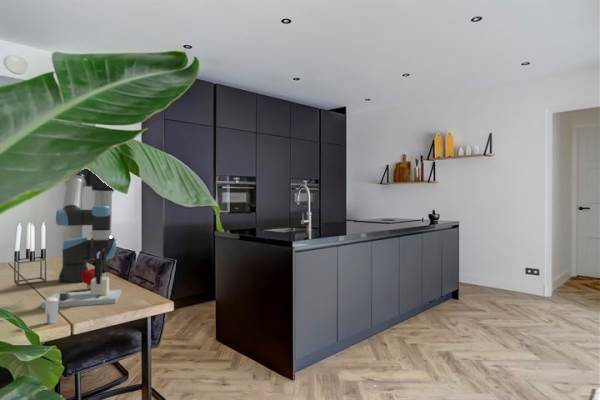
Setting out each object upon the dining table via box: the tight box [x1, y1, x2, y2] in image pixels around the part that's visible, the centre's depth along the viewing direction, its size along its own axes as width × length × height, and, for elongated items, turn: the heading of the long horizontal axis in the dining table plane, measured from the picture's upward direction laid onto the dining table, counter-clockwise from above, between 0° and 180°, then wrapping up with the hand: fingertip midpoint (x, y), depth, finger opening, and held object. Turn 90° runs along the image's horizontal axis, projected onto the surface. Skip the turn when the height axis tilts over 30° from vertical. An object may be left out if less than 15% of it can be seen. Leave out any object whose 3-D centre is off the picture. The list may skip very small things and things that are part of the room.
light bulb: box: [81, 268, 95, 291], centre depth 182 cm, size 9×7×10 cm
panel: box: [40, 288, 122, 309], centre depth 162 cm, size 17×28×2 cm, turn 109°
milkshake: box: [43, 296, 60, 325], centre depth 133 cm, size 4×5×10 cm
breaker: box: [59, 290, 69, 300], centre depth 156 cm, size 3×2×3 cm
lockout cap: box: [90, 276, 110, 296], centre depth 166 cm, size 7×6×7 cm
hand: (100, 288), depth 166 cm, fingers closed on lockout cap, 7 cm apart
